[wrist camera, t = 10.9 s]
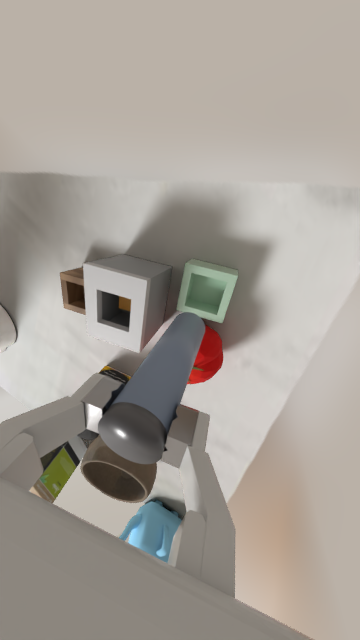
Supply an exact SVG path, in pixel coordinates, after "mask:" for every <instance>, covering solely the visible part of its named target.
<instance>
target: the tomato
mask: <svg viewBox="0 0 360 640" xmlns="http://www.w3.org/2000/svg"><path fill="white" fill-rule="evenodd" d="M222 363H223V352H222V340H221V338H220V337H219V335H218V333H217V332H216V331H214V330H213V329H211V328H210V327H209V326H207V325H205V333H204V336H203V339H202V342H201V345H200V348H199V350H198V353H197V356H196V359H195V362H194V365H193V368H192V371H191V373H190V376H189V379H188V382H187V384H190V385H191V384H196V383H201V382H205V381H206V380H208V379H210V378H212V377H213V376H214V375H215V374H216V372H217V371H218V370H219V369H220V368H221V366H222Z"/></svg>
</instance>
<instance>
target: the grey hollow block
mask: <svg viewBox="0 0 360 640" xmlns="http://www.w3.org/2000/svg"><path fill="white" fill-rule="evenodd" d="M171 272H172V267H171V266H168V265H164V264H160V263H156V262H152V261H148V260H144V259H140V258H136V257H132V256H128V255H125V254H124V255H119V256H114V257H109V258H105V259H100V260H95V261H91V262H86V263H83V273H84V291H85V309H86V327H87V336H90V337H93V338H96V339H99V340H102V341H105V342H108V343H111V344H114V345H117V346H120V347H123V348H126V349H128V350H131V351H134V352H137V353H140V352H141V351H142V349H143V348H144V347H145V346H146V344H147V343H148V342H149V341H150V339H151V338H152V337H153V336H154V334H155V333H156V332H157V331H158V329H159V328H160V327H161V326H162V324H163V320H164V314H165V308H166V302H167V296H168V290H169V284H170V278H171ZM119 296H121V297H125V298H128V299H131V312H130V311H127V310H123V309H120V308H119Z"/></svg>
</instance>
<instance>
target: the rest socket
mask: <svg viewBox="0 0 360 640" xmlns="http://www.w3.org/2000/svg"><path fill="white" fill-rule="evenodd" d="M237 278H238V270H236V269H232V268H228V267H224V266H220V265H216V264H212V263H208V262H204V261H200V260H195V259H191V260H189V261H188V262H186V263H185V268H184V273H183V278H182V283H181V288H180V293H179V298H178V303H177V308H176V310H177V311H181V312H191V313H194V314H196V315H198V316H199V317H201V318H205V319H208V320H212V321H215V322H219V323H223V320H224V317H225V314H226V311H227V308H228V305H229V302H230V299H231V296H232V293H233V290H234V287H235V284H236V281H237Z"/></svg>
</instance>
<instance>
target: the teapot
mask: <svg viewBox="0 0 360 640" xmlns="http://www.w3.org/2000/svg"><path fill="white" fill-rule="evenodd" d="M162 505H163V504H162V502H160V501H158V500H156V501H155V502H153V501H151V502H149V503H147V504H145V505H143V506H142V507H140V509H139V510H138V512H137V514H136V515H135V516H133V517H132V518H131V520H130V521H129V522H128V524H127V526H126V528H125V530H124V531H123V533H122V535H121V536H120V537H119V538H120V539H122V540H124V541H125V540H126V538H127V537H128V535H129V533H130V532H131V533H130V537H129V542H128V543H129V544H131V545H133V546H135V547H137V548H139V549H141V550H143V551H145V552H147V553H149V554H150V555H152V556H154V557H156V558H158V559H160V560H162V561H164V562H166V563H168V559H169V554H170V550H171V545H172V541H173V537H174V535H175V533H176V531H177V529H178V527H179V525H180V523H181V521H182V520H181V519H180V518H178V517H177V516H178V515H179V514H178V513H177V512H175V511H171V512H170V511H168V510H167V509H165V508H164V507H162Z"/></svg>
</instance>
